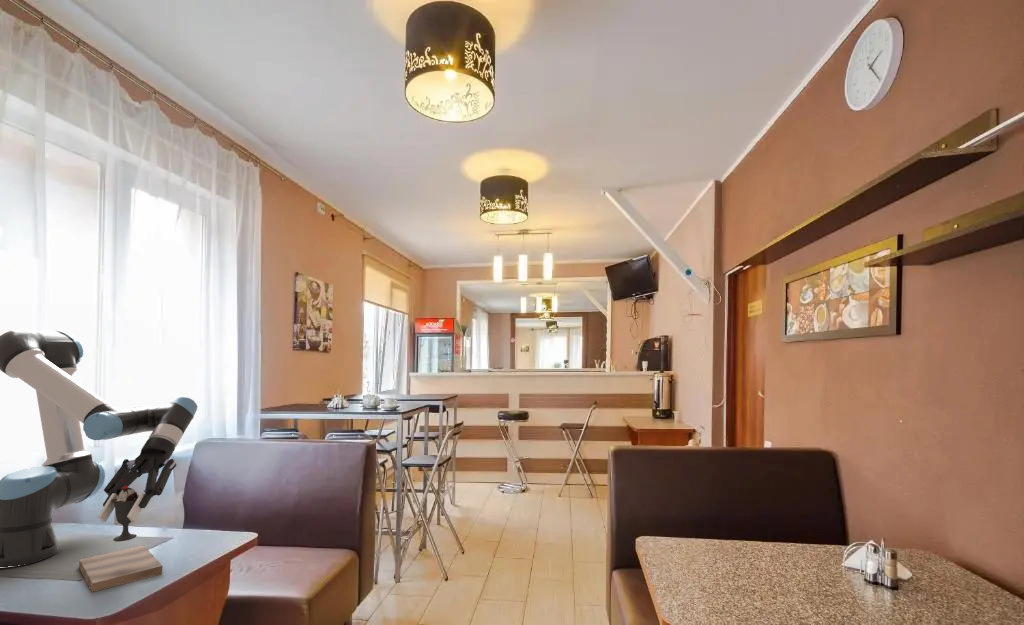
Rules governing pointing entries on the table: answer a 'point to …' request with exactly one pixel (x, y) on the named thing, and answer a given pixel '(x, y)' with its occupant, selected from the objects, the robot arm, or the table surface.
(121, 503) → the sundae
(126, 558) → the brown flat wooden slab
